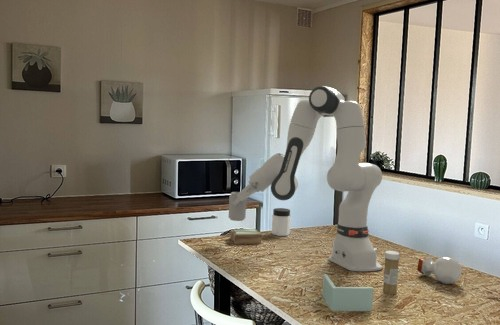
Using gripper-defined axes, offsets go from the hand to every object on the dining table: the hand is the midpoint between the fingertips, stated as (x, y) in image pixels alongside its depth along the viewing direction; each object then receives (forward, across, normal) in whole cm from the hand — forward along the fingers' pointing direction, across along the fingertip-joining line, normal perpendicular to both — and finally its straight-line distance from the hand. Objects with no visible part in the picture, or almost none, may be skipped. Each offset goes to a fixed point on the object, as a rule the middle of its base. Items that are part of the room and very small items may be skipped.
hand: (236, 202), depth 206 cm
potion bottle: (-44, -26, -70) cm, 87 cm away
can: (+5, 0, -6) cm, 8 cm away
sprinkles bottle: (-31, -43, -58) cm, 79 cm away
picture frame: (+10, +5, -16) cm, 19 cm away
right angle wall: (-21, -57, -48) cm, 77 cm away
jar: (+1, +24, -25) cm, 34 cm away
